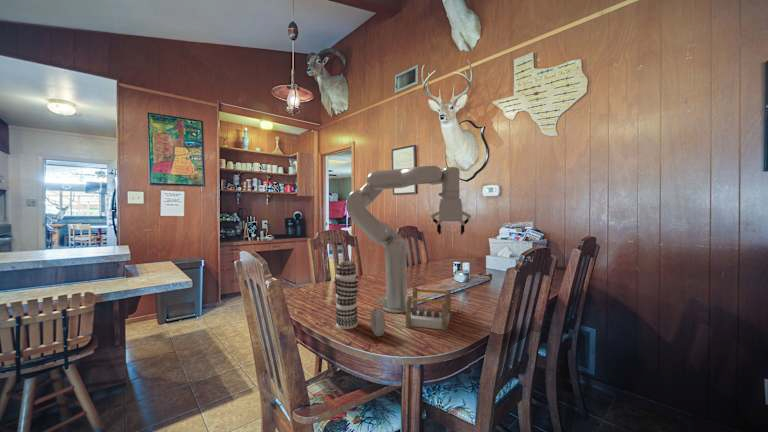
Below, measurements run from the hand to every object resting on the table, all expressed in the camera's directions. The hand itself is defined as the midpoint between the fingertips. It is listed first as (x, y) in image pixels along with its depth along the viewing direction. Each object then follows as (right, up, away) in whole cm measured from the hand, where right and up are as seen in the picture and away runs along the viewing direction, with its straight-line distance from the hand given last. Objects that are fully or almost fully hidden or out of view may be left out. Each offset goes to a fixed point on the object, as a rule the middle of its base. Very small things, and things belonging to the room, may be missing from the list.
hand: (450, 234), depth 136 cm
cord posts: (-12, -35, -13) cm, 39 cm away
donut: (-32, -36, -24) cm, 54 cm away
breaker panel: (-12, -35, -13) cm, 39 cm away
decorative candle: (-44, -35, -14) cm, 58 cm away
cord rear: (-10, -24, -7) cm, 27 cm away
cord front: (-13, -25, -20) cm, 34 cm away
